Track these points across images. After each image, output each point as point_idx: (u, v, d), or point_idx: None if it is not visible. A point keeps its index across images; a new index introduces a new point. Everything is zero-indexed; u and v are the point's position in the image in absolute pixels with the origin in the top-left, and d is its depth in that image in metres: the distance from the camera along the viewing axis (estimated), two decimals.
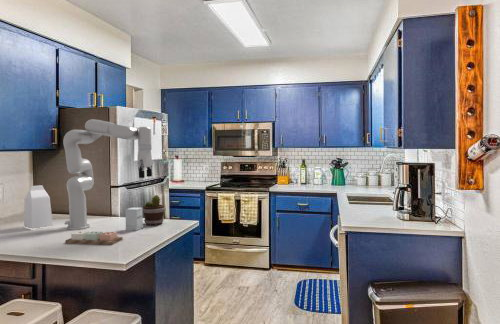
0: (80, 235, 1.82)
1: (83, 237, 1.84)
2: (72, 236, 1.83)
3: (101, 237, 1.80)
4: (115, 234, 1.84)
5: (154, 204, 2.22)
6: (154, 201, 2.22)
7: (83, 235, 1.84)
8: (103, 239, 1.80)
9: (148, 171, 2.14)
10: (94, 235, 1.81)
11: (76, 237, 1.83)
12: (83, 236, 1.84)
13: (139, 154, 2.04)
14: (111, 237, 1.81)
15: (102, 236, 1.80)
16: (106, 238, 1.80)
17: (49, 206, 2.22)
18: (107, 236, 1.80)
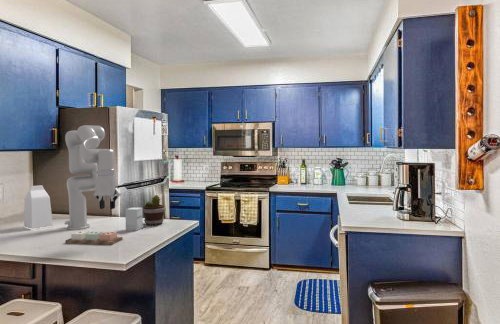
0: (80, 235, 1.82)
1: (83, 237, 1.84)
2: (72, 236, 1.83)
3: (101, 237, 1.80)
4: (115, 234, 1.84)
5: (154, 204, 2.22)
6: (154, 201, 2.22)
7: (83, 235, 1.84)
8: (103, 239, 1.80)
9: (103, 202, 1.83)
10: (94, 235, 1.81)
11: (76, 237, 1.83)
12: (83, 236, 1.84)
13: (114, 180, 1.80)
14: (111, 237, 1.81)
15: (102, 236, 1.80)
16: (106, 238, 1.80)
17: (49, 206, 2.22)
18: (107, 236, 1.80)
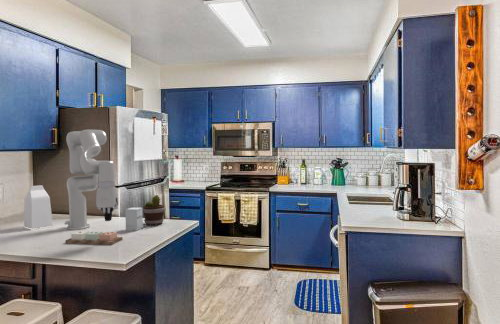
0: (80, 235, 1.82)
1: (83, 237, 1.84)
2: (72, 236, 1.83)
3: (101, 237, 1.80)
4: (115, 234, 1.84)
5: (154, 204, 2.22)
6: (154, 201, 2.22)
7: (83, 235, 1.84)
8: (103, 239, 1.80)
9: None
10: (94, 235, 1.81)
11: (76, 237, 1.83)
12: (83, 236, 1.84)
13: (114, 192, 1.80)
14: (111, 237, 1.81)
15: (102, 236, 1.80)
16: (106, 238, 1.80)
17: (49, 206, 2.22)
18: (107, 236, 1.80)
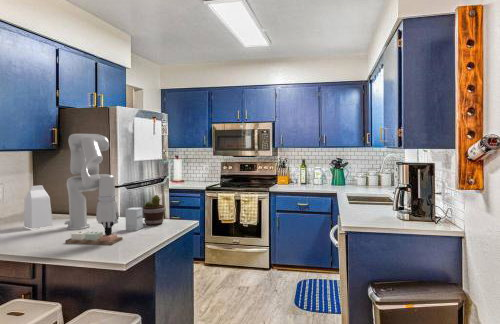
0: (80, 235, 1.82)
1: (83, 237, 1.84)
2: (72, 236, 1.83)
3: (101, 239, 1.81)
4: (115, 236, 1.84)
5: (154, 204, 2.22)
6: (154, 201, 2.22)
7: (83, 235, 1.84)
8: None
9: None
10: (94, 235, 1.81)
11: (76, 237, 1.83)
12: (83, 236, 1.84)
13: (114, 206, 1.81)
14: (111, 239, 1.81)
15: (102, 238, 1.80)
16: (107, 239, 1.80)
17: (49, 206, 2.22)
18: (107, 238, 1.80)
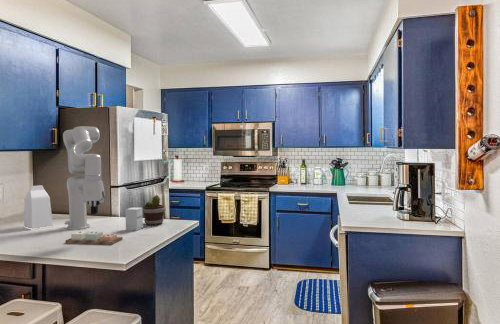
0: (80, 235, 1.82)
1: (83, 237, 1.84)
2: (72, 236, 1.83)
3: (101, 239, 1.81)
4: (115, 236, 1.84)
5: (154, 204, 2.22)
6: (154, 201, 2.22)
7: (83, 235, 1.84)
8: None
9: None
10: (94, 235, 1.81)
11: (76, 237, 1.83)
12: (83, 236, 1.84)
13: (101, 185, 1.82)
14: (111, 239, 1.81)
15: (102, 238, 1.80)
16: (107, 240, 1.80)
17: (49, 206, 2.22)
18: (107, 238, 1.80)
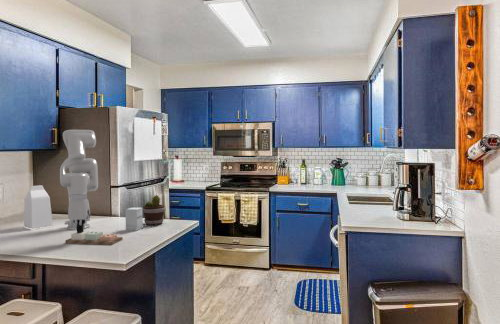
0: (80, 235, 1.82)
1: (83, 237, 1.84)
2: (72, 237, 1.83)
3: (101, 239, 1.81)
4: (115, 236, 1.84)
5: (154, 204, 2.22)
6: (154, 201, 2.22)
7: (83, 235, 1.84)
8: None
9: None
10: (94, 235, 1.81)
11: (76, 237, 1.83)
12: (83, 236, 1.84)
13: (86, 204, 1.83)
14: (111, 239, 1.81)
15: (102, 238, 1.80)
16: (107, 240, 1.80)
17: (49, 206, 2.22)
18: (107, 238, 1.80)
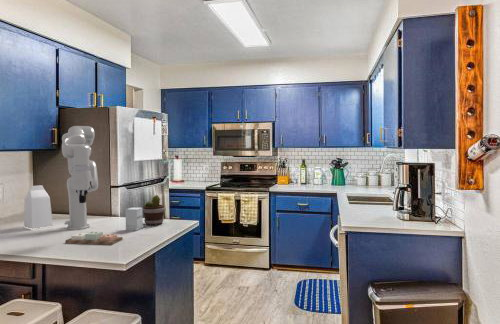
0: (80, 237, 1.83)
1: None
2: (72, 239, 1.83)
3: (101, 239, 1.81)
4: (115, 236, 1.84)
5: (154, 204, 2.22)
6: (154, 201, 2.22)
7: (83, 237, 1.84)
8: None
9: None
10: (94, 235, 1.81)
11: (76, 239, 1.83)
12: (83, 238, 1.84)
13: (88, 175, 1.87)
14: (111, 239, 1.81)
15: (102, 238, 1.80)
16: (107, 240, 1.80)
17: (49, 206, 2.22)
18: (107, 238, 1.80)
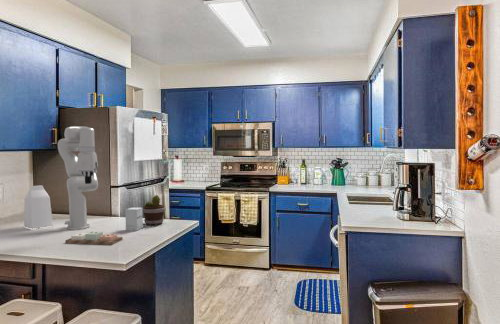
0: (80, 237, 1.83)
1: None
2: (72, 239, 1.83)
3: (101, 239, 1.81)
4: (115, 236, 1.84)
5: (154, 204, 2.22)
6: (154, 201, 2.22)
7: (83, 237, 1.84)
8: None
9: None
10: (94, 235, 1.81)
11: (76, 239, 1.83)
12: (83, 238, 1.84)
13: (94, 156, 1.94)
14: (111, 239, 1.81)
15: (102, 238, 1.80)
16: (107, 240, 1.80)
17: (49, 206, 2.22)
18: (107, 238, 1.80)
